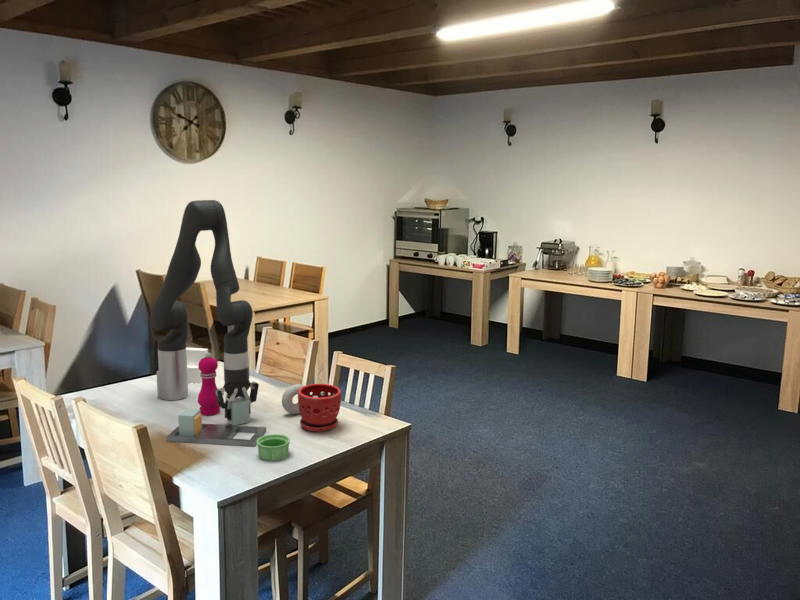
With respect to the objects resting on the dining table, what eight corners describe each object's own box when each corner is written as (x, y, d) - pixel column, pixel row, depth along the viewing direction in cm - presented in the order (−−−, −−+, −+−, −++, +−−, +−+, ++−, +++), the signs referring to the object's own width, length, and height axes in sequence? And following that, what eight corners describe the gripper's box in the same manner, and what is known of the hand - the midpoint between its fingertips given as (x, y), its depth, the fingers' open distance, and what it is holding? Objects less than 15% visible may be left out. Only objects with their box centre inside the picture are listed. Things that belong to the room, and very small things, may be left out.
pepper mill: (214, 417, 208) (212, 356, 205) (194, 415, 210) (191, 354, 206) (225, 409, 215) (223, 350, 211) (205, 407, 217) (202, 349, 213)
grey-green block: (226, 420, 205) (225, 399, 203) (242, 417, 208) (241, 396, 207) (233, 425, 201) (232, 404, 199) (249, 421, 204) (249, 400, 203)
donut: (284, 418, 208) (284, 388, 206) (280, 415, 211) (279, 385, 209) (312, 412, 214) (312, 383, 212) (307, 409, 217) (307, 380, 215)
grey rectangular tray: (166, 441, 189) (166, 436, 188) (183, 427, 199) (182, 422, 199) (254, 446, 186) (254, 441, 186) (266, 431, 197) (265, 427, 197)
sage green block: (179, 438, 191) (178, 415, 190) (187, 431, 196) (186, 408, 195) (195, 439, 191) (194, 416, 189) (203, 432, 196) (202, 409, 195)
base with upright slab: (179, 382, 242) (178, 351, 240) (191, 375, 251) (189, 345, 248) (202, 384, 240) (201, 352, 238) (213, 377, 249) (212, 346, 247)
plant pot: (290, 431, 198) (289, 393, 196) (311, 416, 210) (311, 381, 208) (328, 437, 193) (328, 399, 191) (348, 423, 205) (348, 386, 203)
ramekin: (260, 464, 175) (260, 448, 174) (254, 451, 183) (253, 436, 183) (293, 459, 179) (293, 443, 178) (285, 446, 187) (285, 432, 186)
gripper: (252, 358, 208) (253, 409, 211) (209, 366, 199) (211, 419, 203) (263, 364, 203) (264, 416, 206) (219, 372, 194) (221, 426, 197)
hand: (237, 417), depth 204 cm, fingers closed on grey-green block, 5 cm apart
